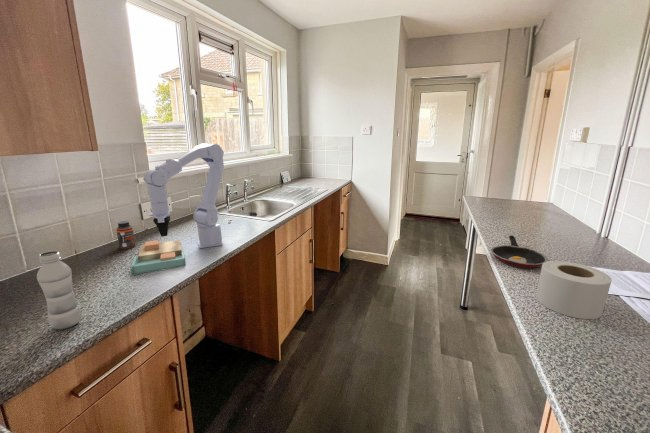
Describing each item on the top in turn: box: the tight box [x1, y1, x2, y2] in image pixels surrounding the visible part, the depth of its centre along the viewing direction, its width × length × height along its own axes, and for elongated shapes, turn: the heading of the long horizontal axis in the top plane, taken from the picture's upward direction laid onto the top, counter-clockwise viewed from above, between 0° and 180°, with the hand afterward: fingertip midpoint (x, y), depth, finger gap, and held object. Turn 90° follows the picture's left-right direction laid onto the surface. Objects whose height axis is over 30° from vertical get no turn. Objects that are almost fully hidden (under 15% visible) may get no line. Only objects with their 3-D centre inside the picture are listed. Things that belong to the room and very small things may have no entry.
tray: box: [131, 248, 186, 275], centre depth 114 cm, size 17×10×3 cm, turn 116°
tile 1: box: [144, 239, 161, 251], centre depth 124 cm, size 5×5×2 cm
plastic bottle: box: [36, 250, 82, 330], centre depth 76 cm, size 6×7×20 cm
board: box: [137, 239, 182, 262], centre depth 125 cm, size 15×13×2 cm
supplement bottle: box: [116, 220, 136, 250], centre depth 130 cm, size 6×6×11 cm
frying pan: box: [490, 234, 549, 270], centre depth 124 cm, size 19×32×4 cm, turn 155°
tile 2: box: [160, 252, 176, 261], centre depth 117 cm, size 5×5×2 cm
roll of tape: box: [535, 260, 612, 320], centre depth 87 cm, size 16×15×11 cm
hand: (164, 235), depth 118 cm, fingers closed
